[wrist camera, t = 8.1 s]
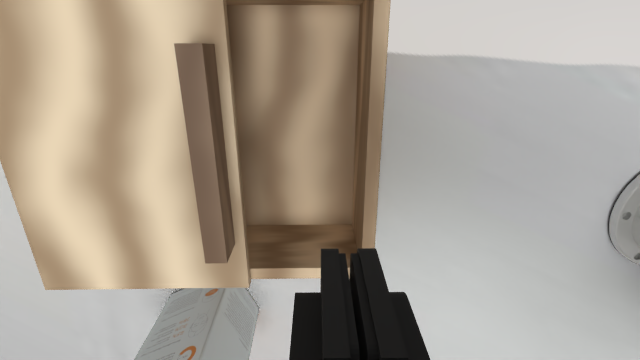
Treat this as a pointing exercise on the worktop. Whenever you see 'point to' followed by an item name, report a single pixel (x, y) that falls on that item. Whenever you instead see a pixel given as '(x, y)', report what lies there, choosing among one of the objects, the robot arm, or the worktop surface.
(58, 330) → the worktop surface
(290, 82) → the mailer box
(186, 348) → the small box
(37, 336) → the worktop surface
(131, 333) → the worktop surface
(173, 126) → the mailer lid
